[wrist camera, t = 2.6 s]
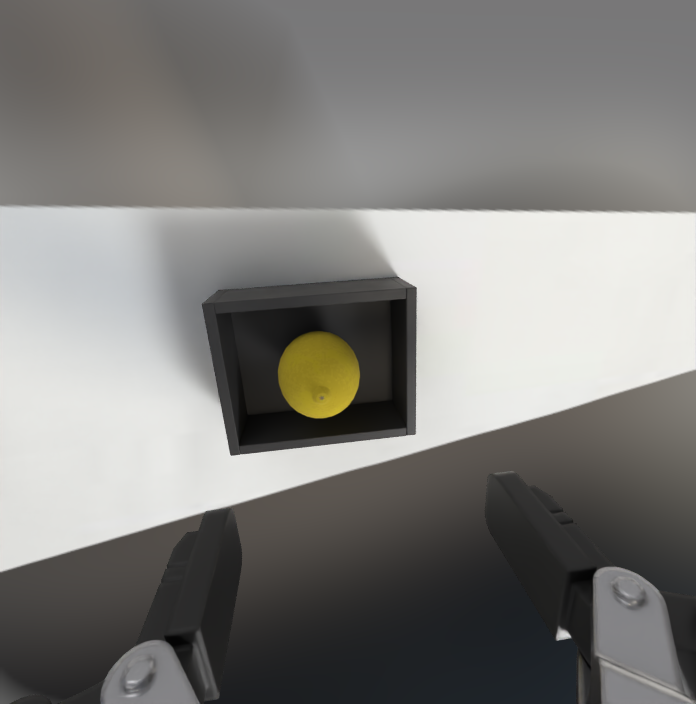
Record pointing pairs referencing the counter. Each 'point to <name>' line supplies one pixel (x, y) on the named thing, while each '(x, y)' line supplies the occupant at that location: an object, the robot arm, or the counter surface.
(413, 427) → the tote
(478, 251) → the counter surface
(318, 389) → the lemon
